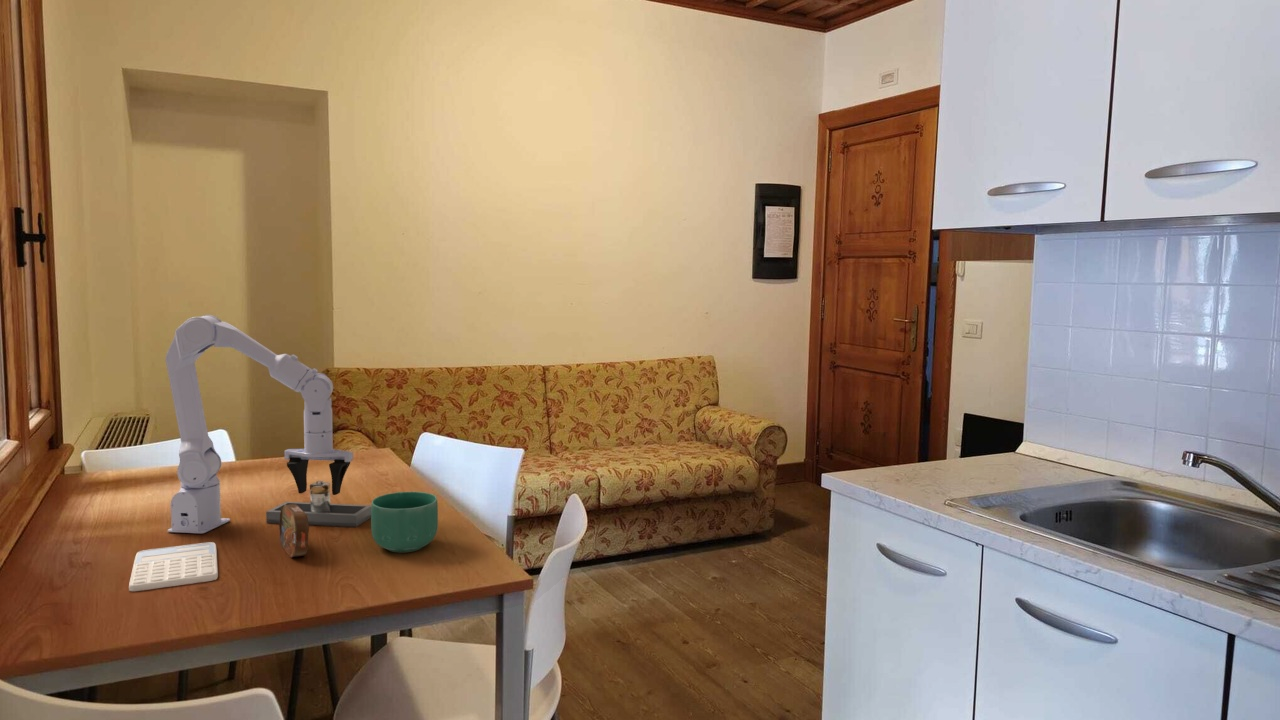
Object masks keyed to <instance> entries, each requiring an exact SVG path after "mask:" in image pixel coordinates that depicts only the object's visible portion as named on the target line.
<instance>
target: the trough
mask: <svg viewBox="0 0 1280 720" xmlns="http://www.w3.org/2000/svg"><path fill="white" fill-rule="evenodd" d="M283 505H298V506H299V507H300V508H301V509H302V510H303V511H304V512H305V513H306V515H307V517H308V522H309V526H321V527H323V526H324V527H325V526H326V527H342V528H343V527H345V528H346V527H347V528H357V527H359V526H361V525H362V524H363V523H366V521H368V520H369V519H370V520H371V504H370V505H367V504H347V503H346V504H343V503H330V512H331V513H319V512H311V503H310V502H303V501H301V502H300V501H284V502H282V503H281V504H278V505H277V506H274V507H273V508H271V509H269V510H266V512H265V514H266V517H265V518H266V519H265V520H266V524H279V521H280V512H281V508H282V506H283Z"/></svg>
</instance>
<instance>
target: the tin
mask: <svg viewBox="0 0 1280 720" xmlns="http://www.w3.org/2000/svg"><path fill="white" fill-rule="evenodd" d="M278 526H279V530H278V531H279V542H280V544H281V547H282V549H283V550H284V551H285V552H286V554H287V555H288V557H289V558H291V559H292V558H296V557H303V556H306V554H307V553H308V551H309V534H310V533H309V530H310V525H309V522H308V517H307V515H306V513H305V512H304V511H303V510H302V509H301V508H300V507H299V506H298V505H283V506H282V508H281V512H280V521H279V525H278Z"/></svg>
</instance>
